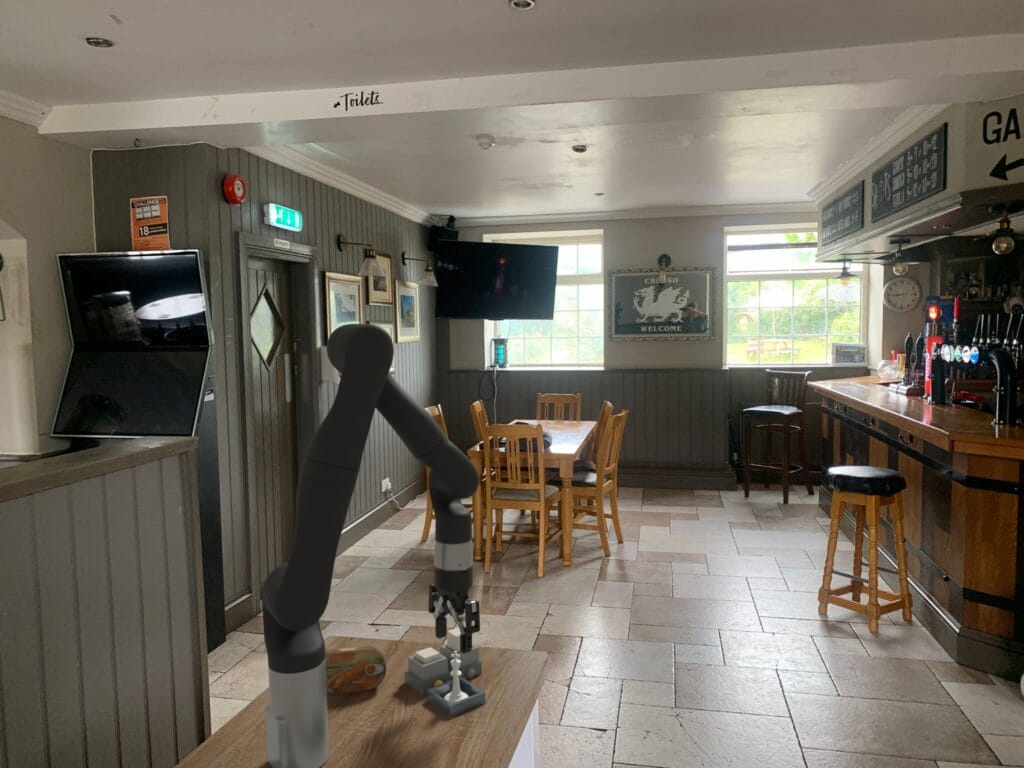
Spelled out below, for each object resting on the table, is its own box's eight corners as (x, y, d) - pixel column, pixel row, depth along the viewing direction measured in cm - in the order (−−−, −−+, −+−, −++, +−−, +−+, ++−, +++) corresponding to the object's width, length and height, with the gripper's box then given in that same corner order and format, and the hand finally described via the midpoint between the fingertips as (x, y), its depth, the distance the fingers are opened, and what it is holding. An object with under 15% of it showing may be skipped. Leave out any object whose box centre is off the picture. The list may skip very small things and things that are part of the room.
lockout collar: (450, 717, 133) (450, 706, 133) (427, 699, 139) (426, 689, 139) (485, 702, 138) (485, 692, 138) (461, 686, 145) (461, 676, 144)
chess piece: (465, 709, 136) (464, 658, 135) (440, 706, 137) (439, 656, 136) (472, 696, 141) (471, 647, 140) (448, 693, 142) (447, 645, 141)
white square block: (425, 674, 143) (424, 658, 143) (415, 668, 146) (415, 652, 146) (440, 669, 145) (439, 653, 145) (430, 662, 148) (430, 647, 148)
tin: (309, 696, 141) (308, 655, 141) (311, 688, 145) (310, 648, 144) (386, 689, 144) (385, 649, 143) (386, 682, 147) (385, 642, 146)
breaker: (456, 652, 148) (456, 636, 148) (447, 646, 151) (447, 631, 150) (471, 647, 150) (470, 631, 150) (461, 641, 153) (461, 626, 153)
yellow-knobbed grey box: (424, 697, 140) (424, 670, 140) (404, 682, 146) (404, 656, 146) (483, 674, 149) (483, 649, 149) (462, 661, 155) (462, 637, 155)
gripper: (417, 557, 140) (417, 637, 141) (458, 576, 129) (458, 663, 130) (449, 550, 145) (448, 628, 146) (491, 568, 134) (490, 652, 135)
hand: (453, 644), depth 138 cm, fingers open, 8 cm apart
